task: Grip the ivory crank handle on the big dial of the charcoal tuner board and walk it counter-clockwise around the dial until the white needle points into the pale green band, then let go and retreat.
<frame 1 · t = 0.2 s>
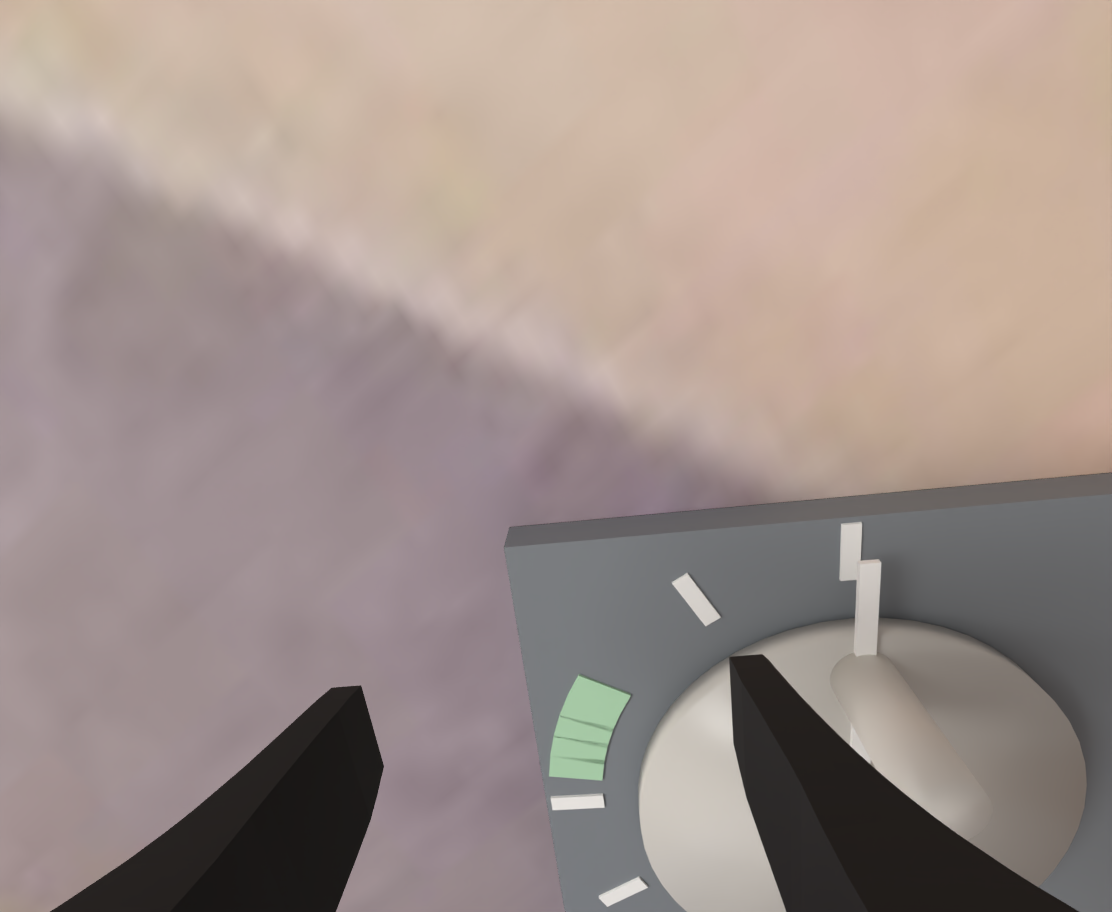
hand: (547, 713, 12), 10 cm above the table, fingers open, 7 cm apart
tuner knob: (883, 842, 19), point 5 cm above the table, hinge at 0.0°
tuner board: (826, 755, 24), on the table
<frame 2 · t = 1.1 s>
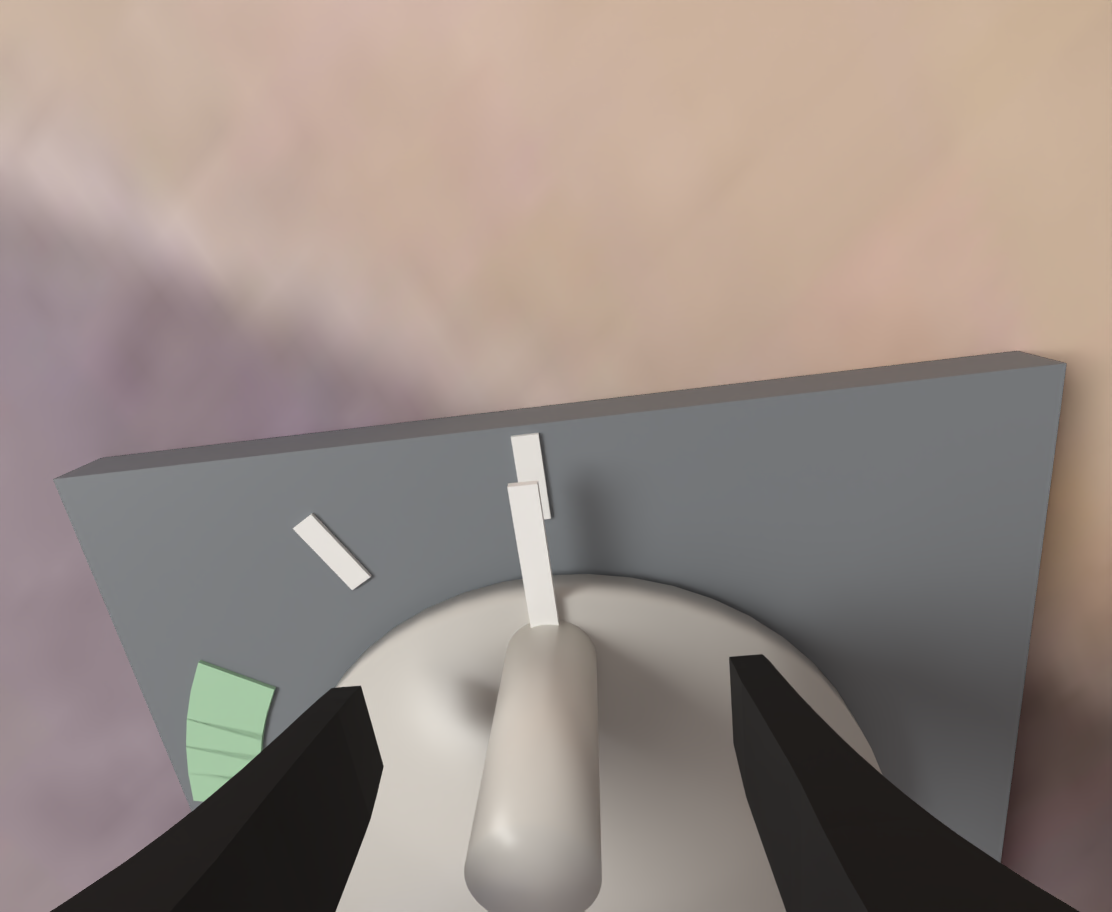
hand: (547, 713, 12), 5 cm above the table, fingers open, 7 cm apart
tuner knob: (575, 898, 13), point 5 cm above the table, hinge at 0.0°
tuner board: (583, 768, 18), on the table
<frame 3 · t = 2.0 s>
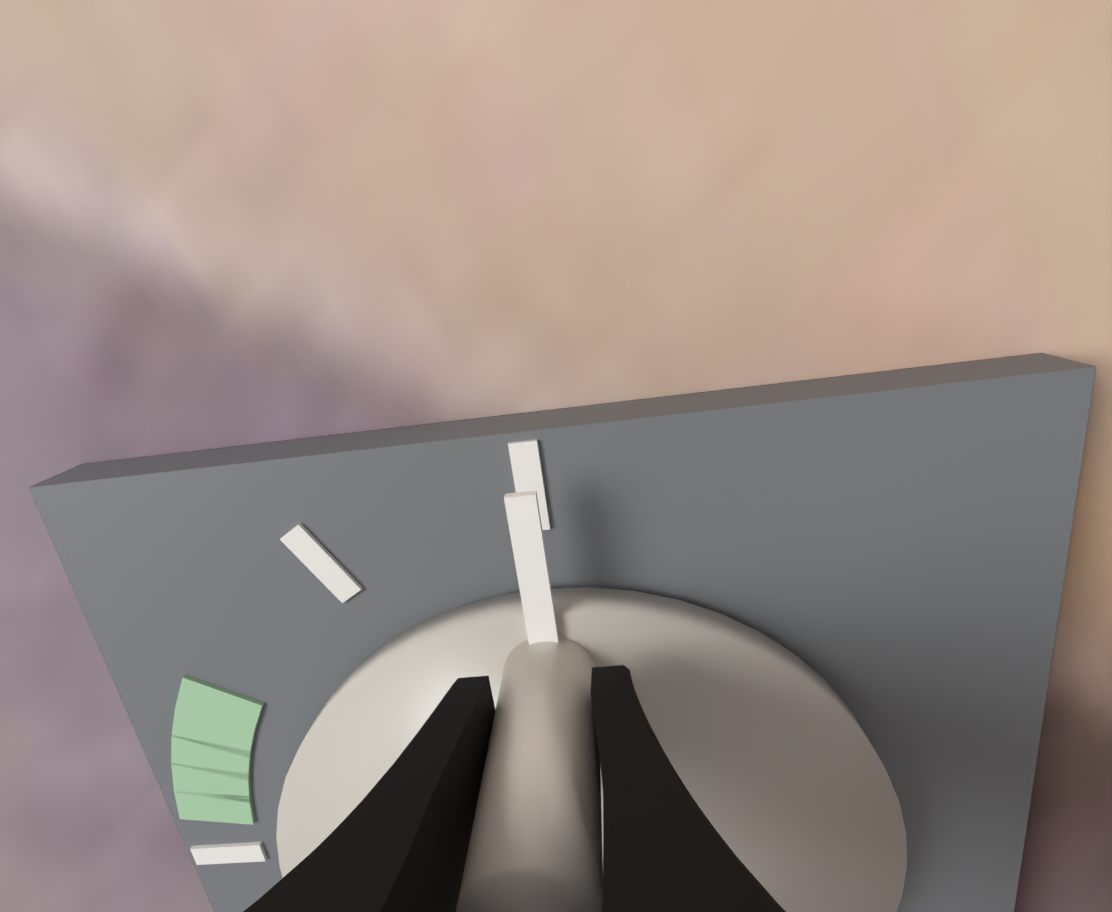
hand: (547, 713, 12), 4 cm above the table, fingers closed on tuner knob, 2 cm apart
tuner board: (584, 784, 18), on the table
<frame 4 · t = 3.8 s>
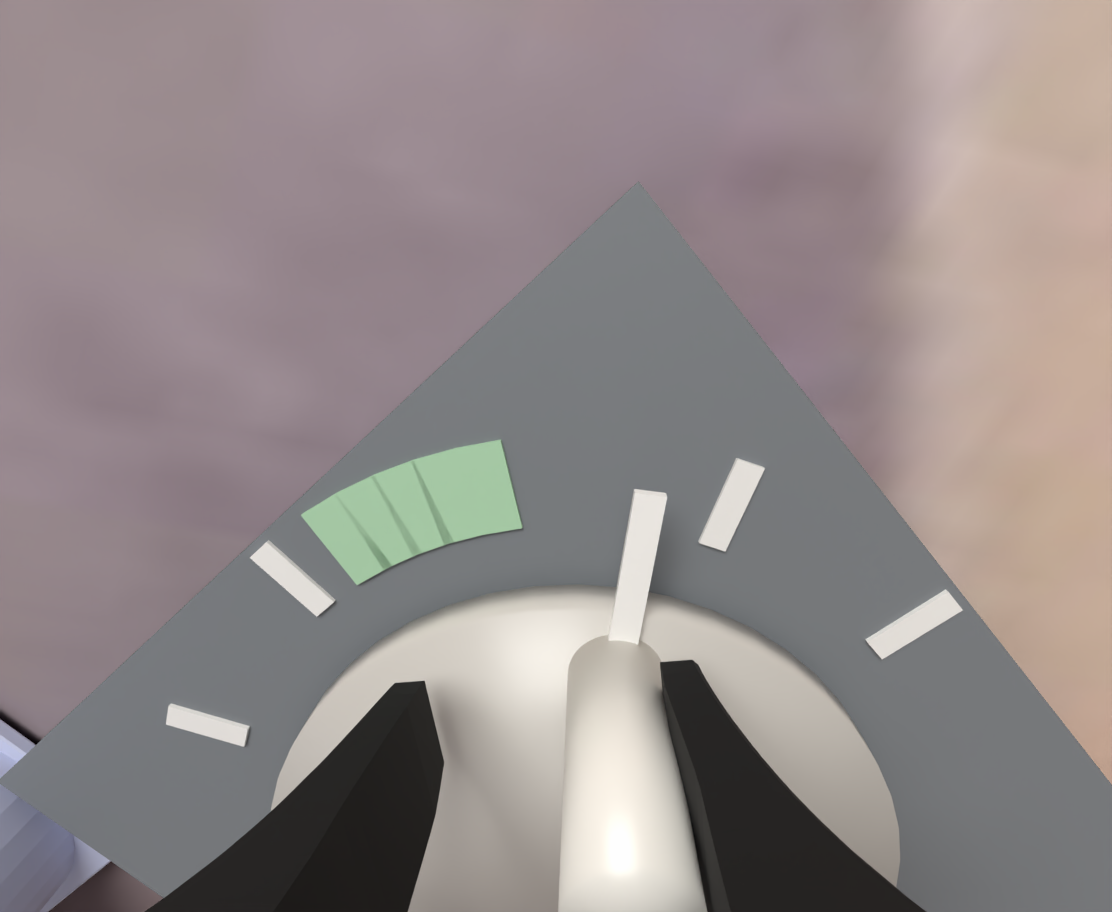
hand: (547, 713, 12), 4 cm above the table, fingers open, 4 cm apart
tuner board: (578, 782, 18), on the table
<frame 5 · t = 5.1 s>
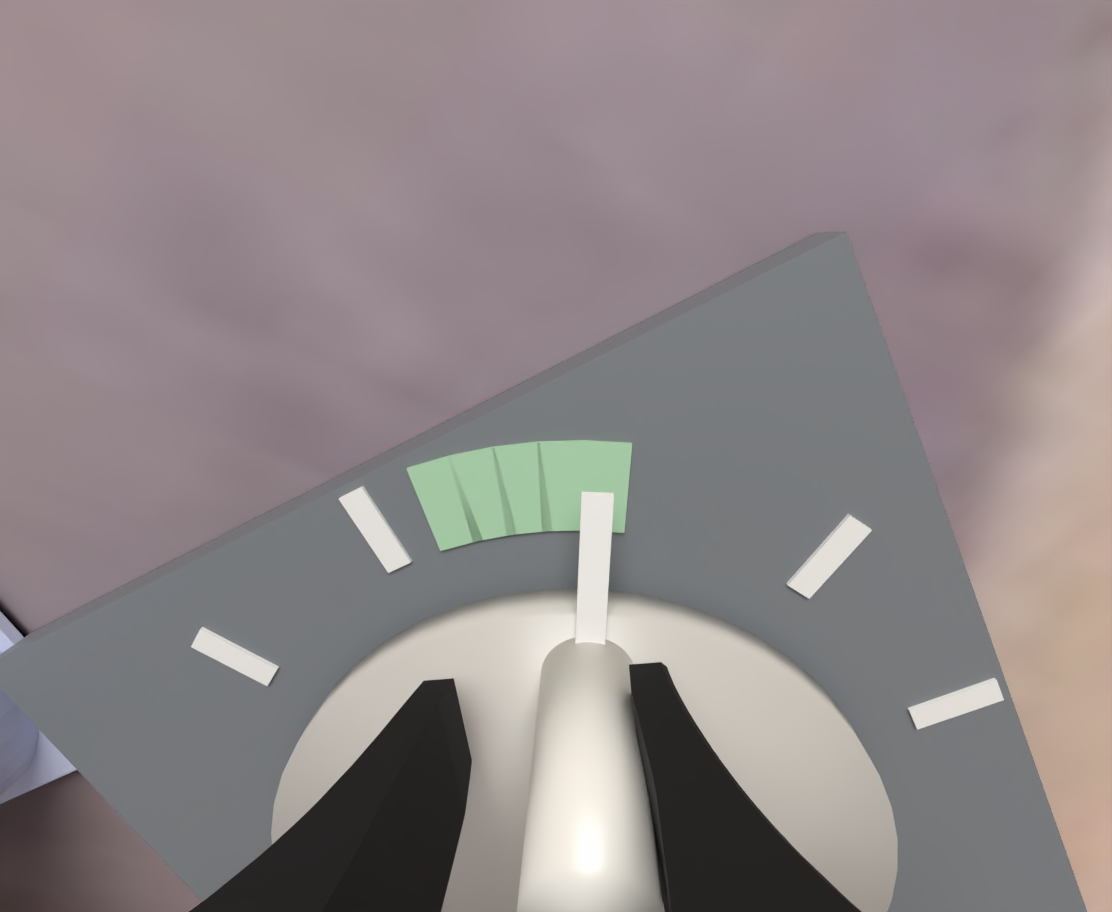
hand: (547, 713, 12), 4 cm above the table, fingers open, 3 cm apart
tuner board: (578, 785, 18), on the table
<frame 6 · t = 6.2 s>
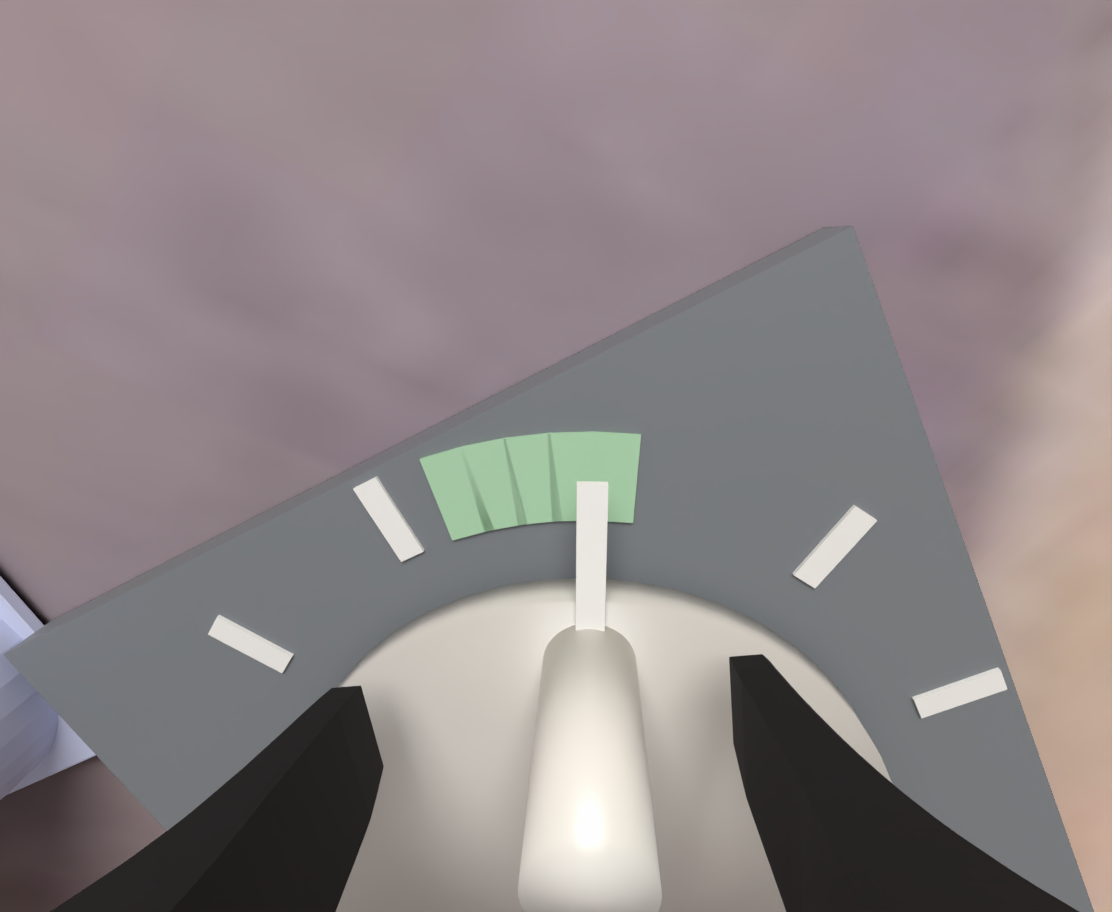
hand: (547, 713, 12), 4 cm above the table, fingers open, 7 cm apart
tuner knob: (586, 910, 13), point 5 cm above the table, hinge at 62.7°
tuner board: (586, 773, 18), on the table
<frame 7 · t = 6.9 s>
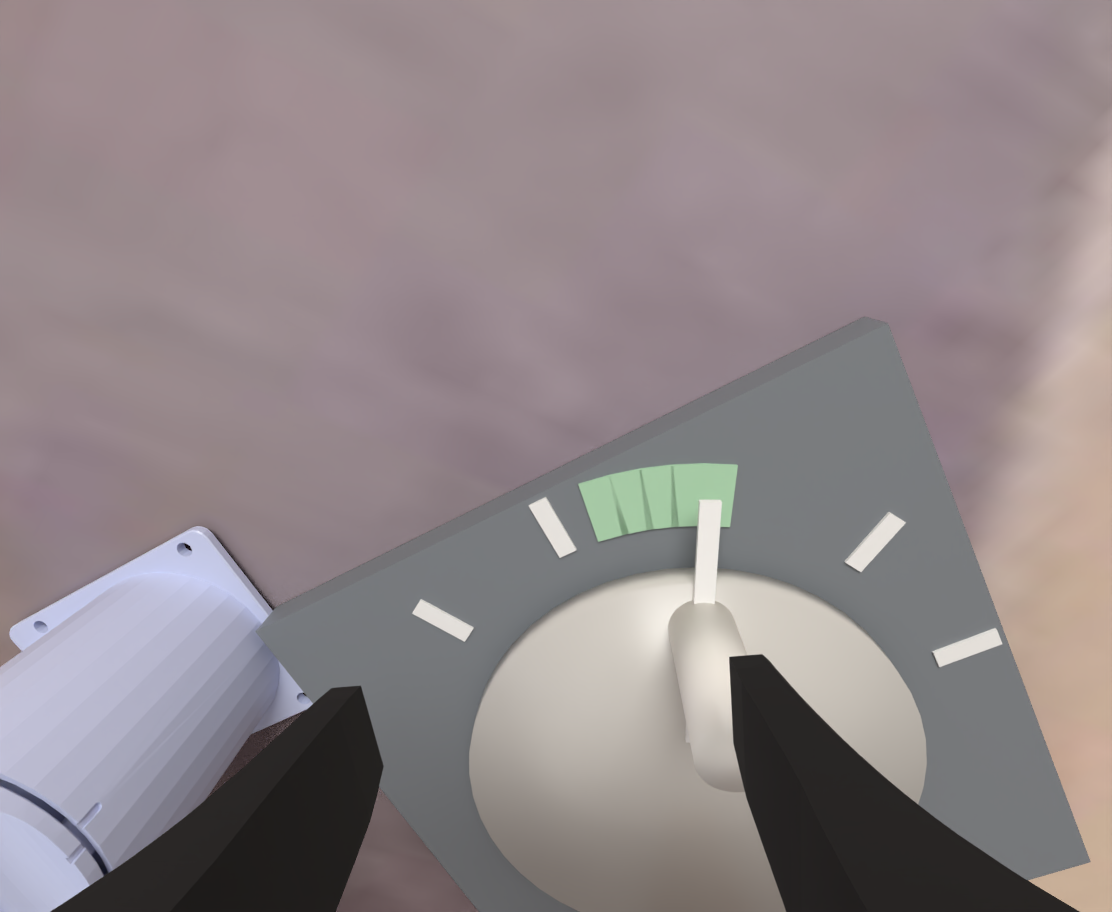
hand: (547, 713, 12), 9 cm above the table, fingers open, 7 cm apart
tuner knob: (704, 801, 18), point 5 cm above the table, hinge at 62.7°
tuner board: (680, 719, 23), on the table
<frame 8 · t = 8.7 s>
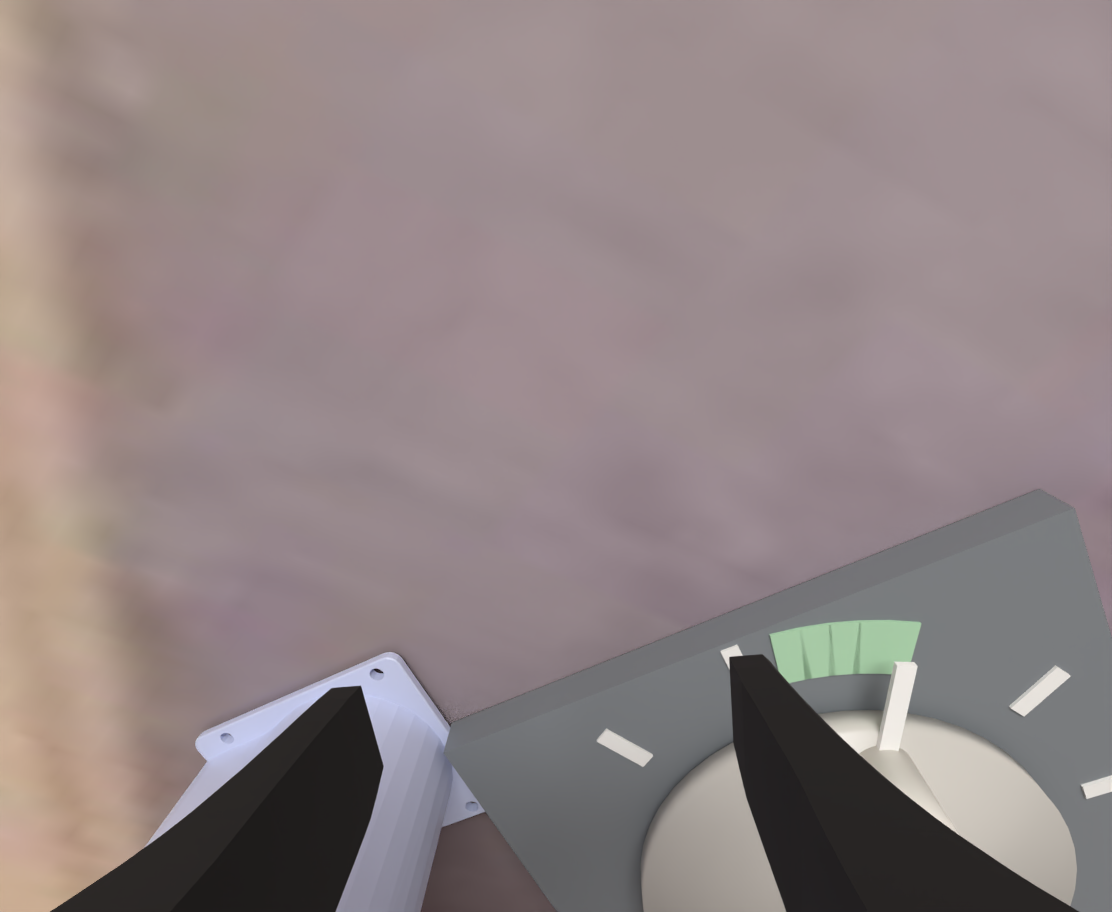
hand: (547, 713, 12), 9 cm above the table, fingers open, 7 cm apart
tuner board: (824, 829, 25), on the table
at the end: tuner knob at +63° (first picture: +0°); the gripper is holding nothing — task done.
